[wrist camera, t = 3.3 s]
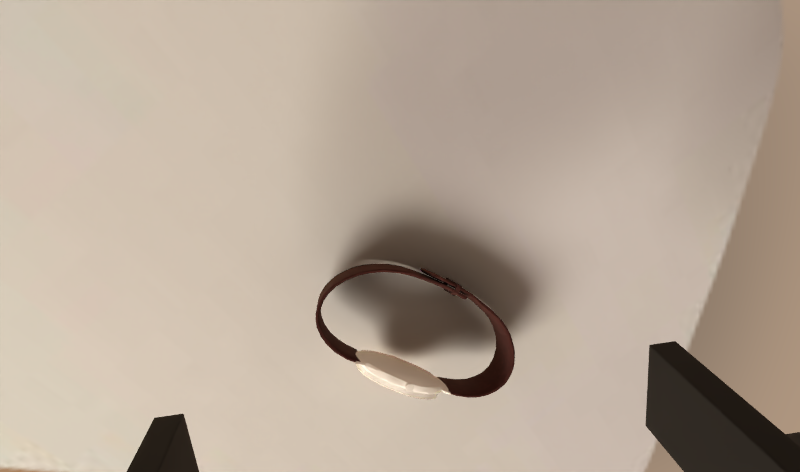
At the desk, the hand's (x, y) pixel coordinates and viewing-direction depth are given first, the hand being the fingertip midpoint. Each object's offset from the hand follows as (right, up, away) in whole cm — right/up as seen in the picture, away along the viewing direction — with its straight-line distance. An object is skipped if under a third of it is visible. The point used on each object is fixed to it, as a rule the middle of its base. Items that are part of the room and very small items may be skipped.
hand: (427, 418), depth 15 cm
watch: (0, +2, +7) cm, 7 cm away
